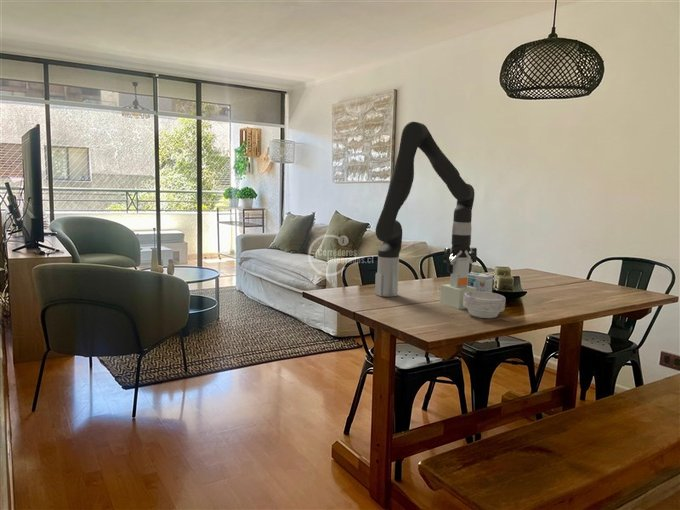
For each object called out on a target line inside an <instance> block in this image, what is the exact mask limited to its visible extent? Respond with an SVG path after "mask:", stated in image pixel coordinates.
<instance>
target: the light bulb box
mask: <svg viewBox="0 0 680 510" xmlns="http://www.w3.org/2000/svg"><path fill="white" fill-rule="evenodd" d="M493 280H494V275H493V274H487V273H480V272H474V271H473V272H470V273H469V274H468V285H467V286H471V287H475V288H477V289H476V291H482V292H491V293H493V283H494V281H493Z"/></svg>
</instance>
